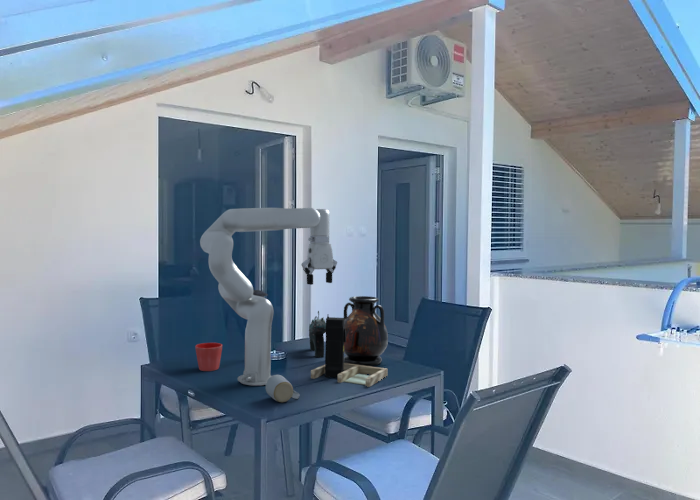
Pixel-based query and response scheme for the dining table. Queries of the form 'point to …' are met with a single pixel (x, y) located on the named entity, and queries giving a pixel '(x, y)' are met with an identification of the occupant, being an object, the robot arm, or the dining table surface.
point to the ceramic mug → (280, 389)
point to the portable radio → (334, 346)
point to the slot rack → (355, 374)
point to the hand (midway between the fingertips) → (319, 283)
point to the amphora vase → (364, 332)
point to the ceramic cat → (317, 336)
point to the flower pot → (208, 356)
